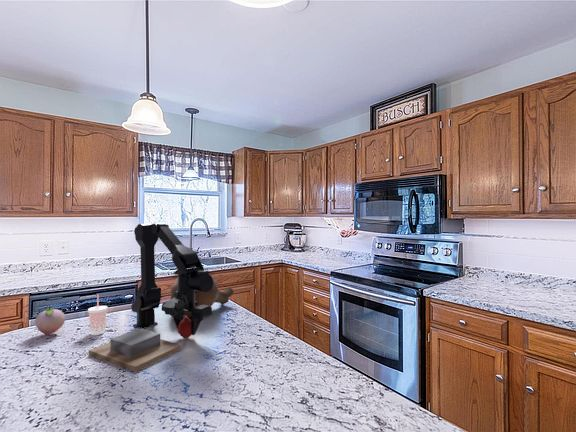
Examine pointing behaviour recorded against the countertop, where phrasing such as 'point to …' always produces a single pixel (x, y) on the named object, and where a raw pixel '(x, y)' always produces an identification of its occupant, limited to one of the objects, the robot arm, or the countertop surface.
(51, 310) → the decorative fruit
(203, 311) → the robot arm
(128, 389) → the countertop surface
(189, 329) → the onion
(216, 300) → the jug
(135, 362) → the stacking base
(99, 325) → the beverage cup
